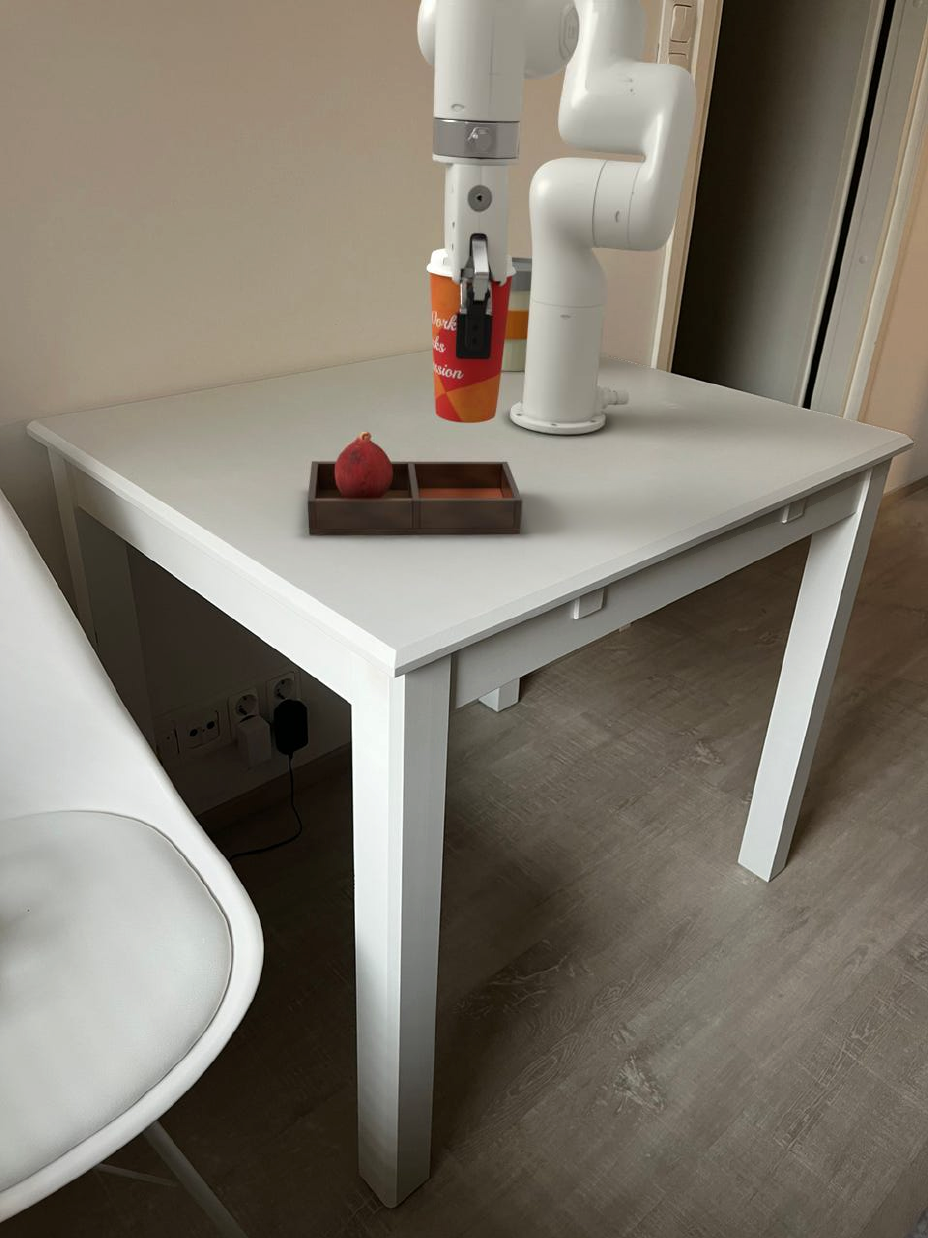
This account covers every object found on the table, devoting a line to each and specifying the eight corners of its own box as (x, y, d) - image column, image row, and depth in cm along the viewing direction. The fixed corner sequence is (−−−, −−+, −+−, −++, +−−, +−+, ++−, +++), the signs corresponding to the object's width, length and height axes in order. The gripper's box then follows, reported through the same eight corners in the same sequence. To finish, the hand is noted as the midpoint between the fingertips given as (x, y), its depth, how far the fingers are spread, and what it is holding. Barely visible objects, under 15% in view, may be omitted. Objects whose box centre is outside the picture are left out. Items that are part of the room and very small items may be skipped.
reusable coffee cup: (487, 349, 160) (492, 253, 153) (559, 359, 156) (568, 262, 148) (457, 366, 150) (460, 265, 142) (533, 378, 146) (541, 274, 138)
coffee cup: (422, 400, 99) (424, 244, 91) (501, 400, 100) (510, 247, 92) (426, 426, 92) (429, 260, 84) (512, 427, 92) (522, 263, 85)
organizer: (505, 492, 106) (507, 461, 104) (520, 533, 97) (522, 500, 95) (313, 492, 104) (311, 460, 102) (309, 535, 94) (307, 500, 93)
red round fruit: (369, 523, 96) (368, 446, 92) (323, 509, 99) (321, 433, 95) (403, 505, 100) (403, 430, 96) (358, 492, 103) (357, 419, 99)
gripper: (535, 152, 77) (520, 371, 85) (505, 138, 92) (495, 325, 100) (440, 149, 76) (435, 370, 84) (426, 135, 91) (423, 324, 99)
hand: (467, 345), depth 92 cm, fingers closed on coffee cup, 8 cm apart
